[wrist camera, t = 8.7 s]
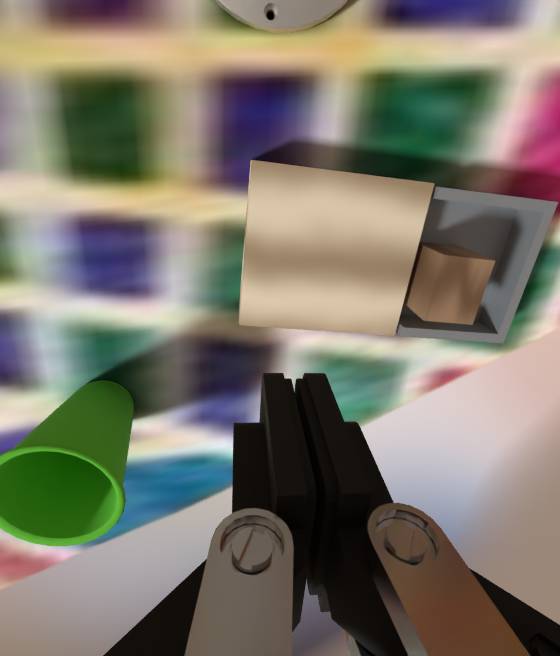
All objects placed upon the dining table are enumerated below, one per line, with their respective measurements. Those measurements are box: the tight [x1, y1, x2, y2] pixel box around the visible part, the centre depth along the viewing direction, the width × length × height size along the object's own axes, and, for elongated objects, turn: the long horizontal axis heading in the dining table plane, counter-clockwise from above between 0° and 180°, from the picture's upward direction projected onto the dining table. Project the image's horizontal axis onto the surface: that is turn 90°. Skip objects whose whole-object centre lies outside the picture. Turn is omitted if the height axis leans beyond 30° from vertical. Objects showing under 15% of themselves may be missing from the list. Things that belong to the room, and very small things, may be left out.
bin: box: [396, 186, 558, 343], centre depth 31 cm, size 12×9×4 cm
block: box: [403, 241, 495, 325], centre depth 30 cm, size 5×5×4 cm
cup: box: [0, 380, 134, 546], centre depth 30 cm, size 9×9×11 cm
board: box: [239, 160, 435, 336], centre depth 30 cm, size 12×13×3 cm
